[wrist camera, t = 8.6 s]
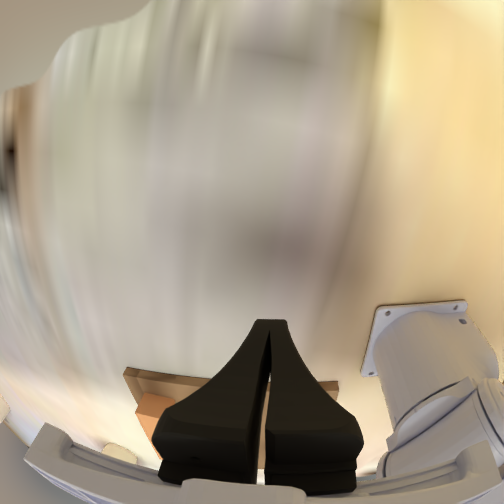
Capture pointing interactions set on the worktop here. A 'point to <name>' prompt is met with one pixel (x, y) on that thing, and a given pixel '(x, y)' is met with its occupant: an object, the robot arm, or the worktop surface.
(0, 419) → the cream l-shaped block
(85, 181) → the worktop surface
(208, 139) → the worktop surface
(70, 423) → the worktop surface
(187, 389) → the board
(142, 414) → the t block
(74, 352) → the worktop surface
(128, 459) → the foam cup
